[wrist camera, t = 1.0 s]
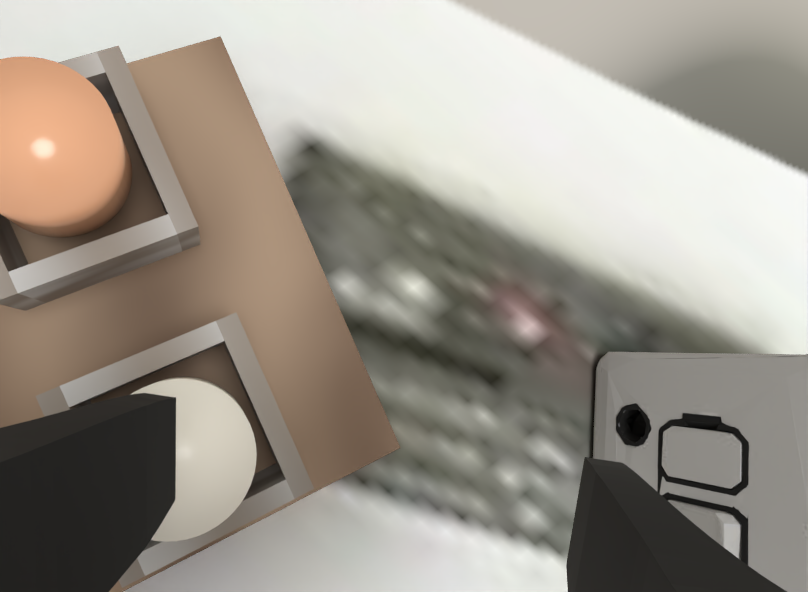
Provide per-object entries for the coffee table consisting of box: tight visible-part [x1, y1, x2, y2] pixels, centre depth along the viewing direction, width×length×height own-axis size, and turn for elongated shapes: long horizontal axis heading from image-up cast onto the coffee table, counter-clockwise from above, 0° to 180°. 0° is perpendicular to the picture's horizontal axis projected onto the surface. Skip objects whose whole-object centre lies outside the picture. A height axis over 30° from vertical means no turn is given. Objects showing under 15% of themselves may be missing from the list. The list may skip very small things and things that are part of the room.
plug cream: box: [130, 377, 257, 542], centre depth 16 cm, size 4×4×3 cm
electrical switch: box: [593, 352, 808, 592], centre depth 22 cm, size 9×5×9 cm, turn 176°
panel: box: [0, 37, 400, 592], centre depth 20 cm, size 12×15×4 cm
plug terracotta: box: [0, 57, 132, 238], centre depth 16 cm, size 4×4×3 cm
